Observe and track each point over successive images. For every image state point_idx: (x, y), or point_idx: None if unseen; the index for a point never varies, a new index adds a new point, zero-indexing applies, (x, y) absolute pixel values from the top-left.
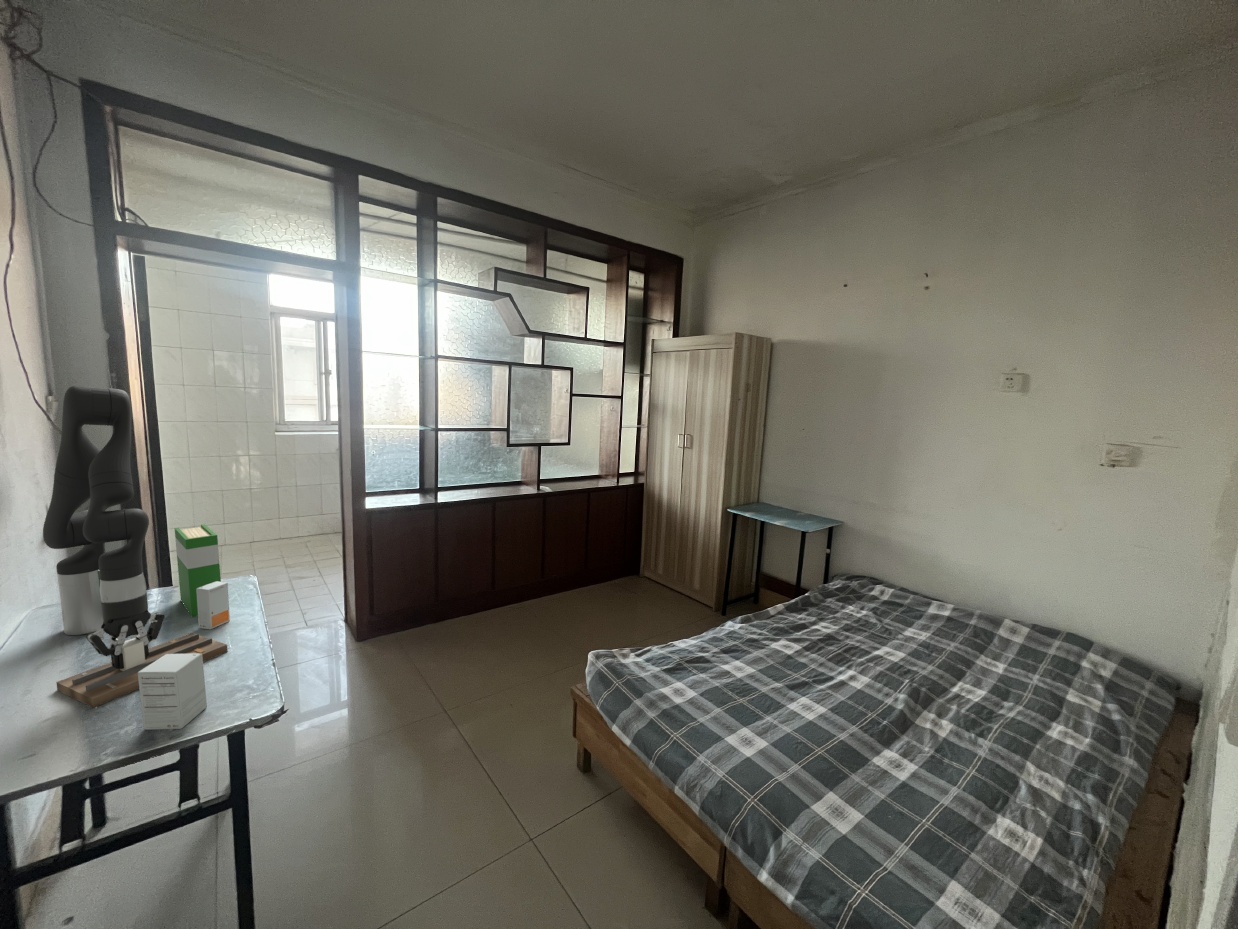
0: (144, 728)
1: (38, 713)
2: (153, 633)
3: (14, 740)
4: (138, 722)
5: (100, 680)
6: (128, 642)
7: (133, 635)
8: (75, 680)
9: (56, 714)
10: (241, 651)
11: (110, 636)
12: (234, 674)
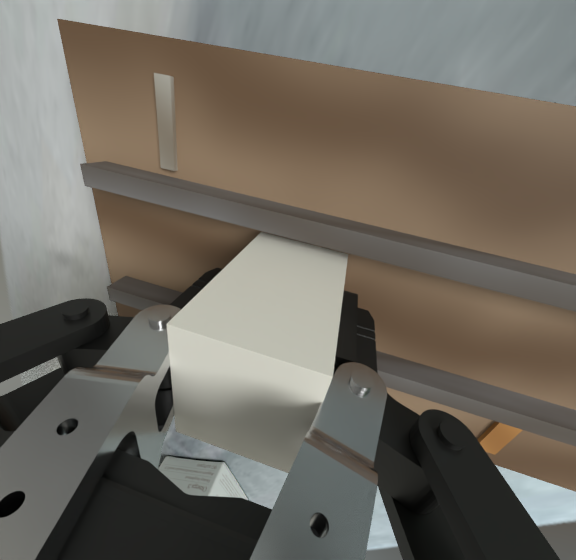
0: (165, 459)
1: (46, 193)
2: (398, 541)
3: (11, 276)
4: (172, 437)
5: (149, 306)
6: (246, 397)
7: (307, 435)
8: (93, 186)
9: (81, 256)
10: (548, 483)
11: (12, 438)
12: (374, 504)
